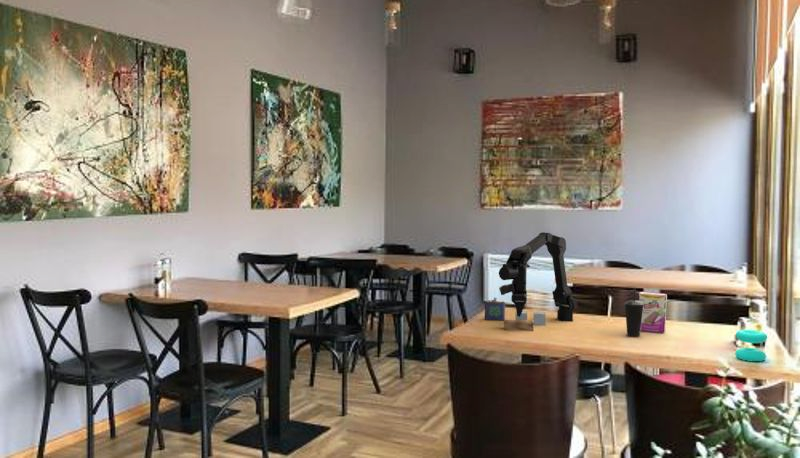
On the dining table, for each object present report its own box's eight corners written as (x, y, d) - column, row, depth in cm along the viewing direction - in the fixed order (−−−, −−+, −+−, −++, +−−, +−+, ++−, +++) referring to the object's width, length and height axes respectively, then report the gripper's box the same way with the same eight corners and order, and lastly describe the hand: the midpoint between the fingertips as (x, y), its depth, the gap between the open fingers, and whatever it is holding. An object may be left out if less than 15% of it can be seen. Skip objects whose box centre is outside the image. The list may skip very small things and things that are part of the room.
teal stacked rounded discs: (766, 330, 249) (768, 335, 240) (764, 357, 250) (767, 363, 241) (735, 327, 253) (736, 333, 244) (734, 354, 254) (735, 360, 245)
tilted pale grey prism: (526, 322, 308) (527, 311, 308) (526, 324, 304) (527, 313, 303) (515, 322, 309) (515, 311, 309) (515, 324, 304) (515, 313, 304)
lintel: (531, 329, 296) (532, 320, 296) (533, 332, 291) (533, 322, 291) (503, 328, 297) (504, 319, 297) (504, 331, 292) (504, 322, 292)
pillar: (544, 323, 307) (545, 312, 307) (545, 325, 302) (545, 314, 302) (533, 322, 308) (533, 311, 308) (533, 325, 303) (533, 313, 303)
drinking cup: (642, 334, 287) (644, 287, 285) (643, 338, 279) (644, 289, 278) (623, 333, 289) (625, 286, 288) (623, 336, 282) (624, 288, 281)
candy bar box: (637, 331, 294) (638, 293, 293) (638, 329, 298) (639, 291, 297) (664, 333, 289) (666, 295, 288) (665, 331, 293) (667, 293, 292)
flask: (504, 320, 315) (504, 297, 314) (505, 321, 312) (505, 298, 311) (484, 320, 315) (484, 296, 315) (484, 321, 312) (485, 297, 312)
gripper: (501, 274, 303) (500, 309, 304) (499, 280, 285) (499, 317, 286) (526, 275, 301) (526, 310, 302) (526, 281, 283) (526, 318, 284)
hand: (518, 314), depth 294 cm, fingers open, 9 cm apart
